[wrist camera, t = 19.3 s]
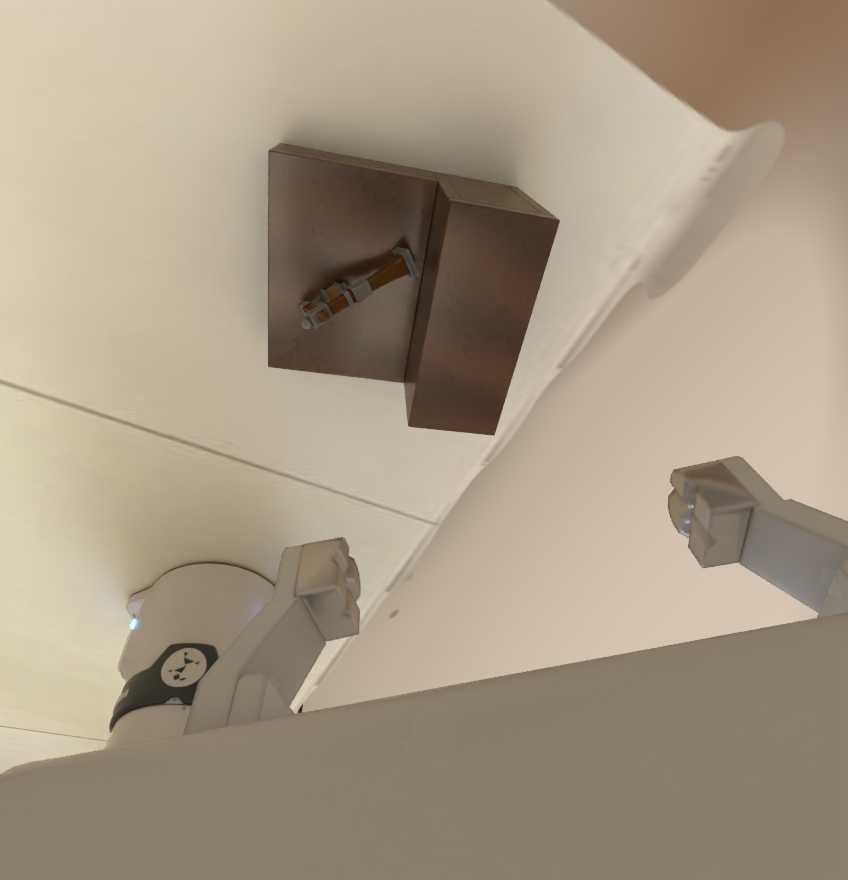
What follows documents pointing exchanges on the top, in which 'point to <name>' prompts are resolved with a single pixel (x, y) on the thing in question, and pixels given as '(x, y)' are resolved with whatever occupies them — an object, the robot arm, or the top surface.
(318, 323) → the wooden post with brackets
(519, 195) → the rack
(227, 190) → the top surface
